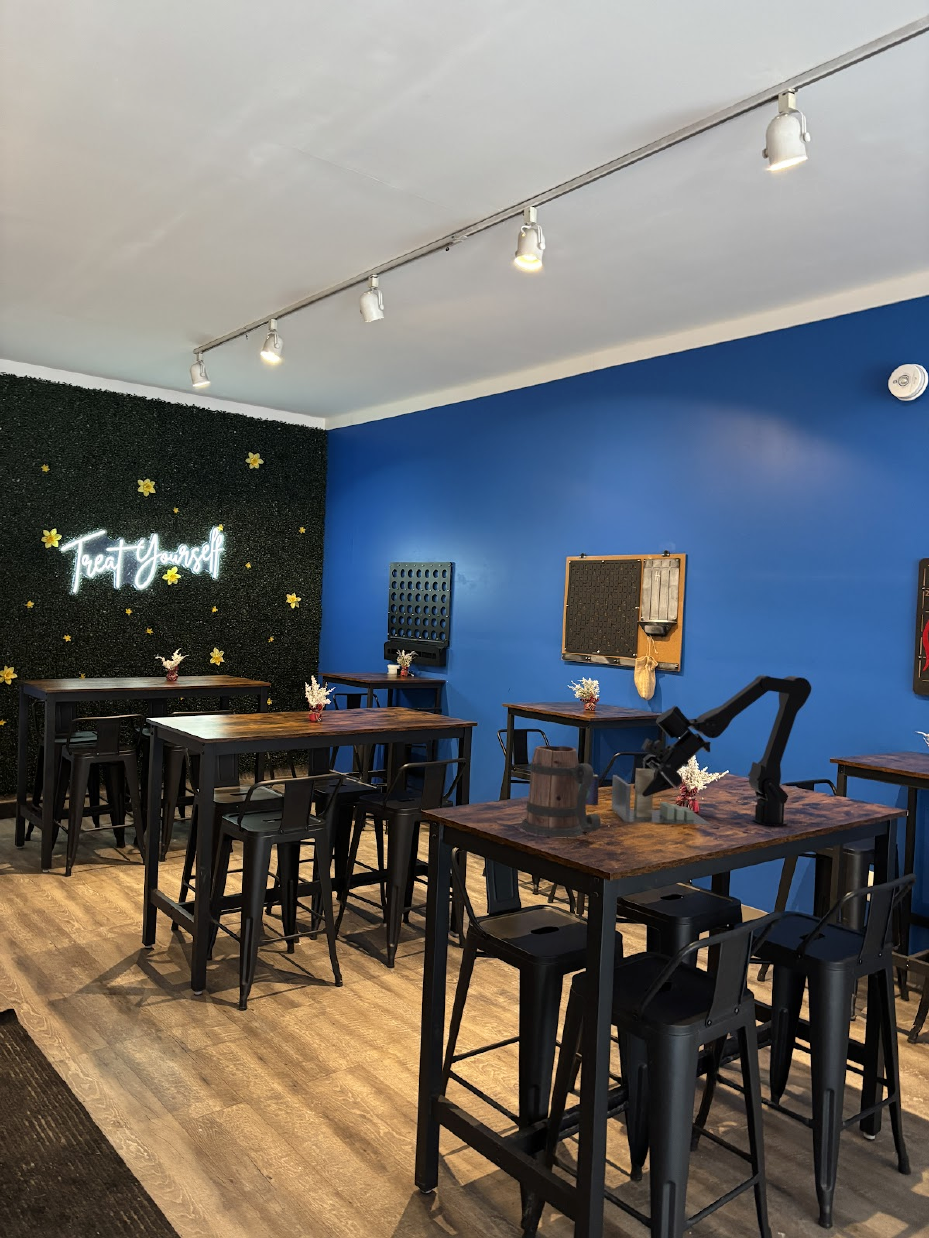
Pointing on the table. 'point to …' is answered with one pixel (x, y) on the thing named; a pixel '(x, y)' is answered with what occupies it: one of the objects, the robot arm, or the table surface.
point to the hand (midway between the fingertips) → (638, 792)
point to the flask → (592, 791)
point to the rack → (622, 808)
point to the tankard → (559, 794)
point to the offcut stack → (675, 812)
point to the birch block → (641, 782)
